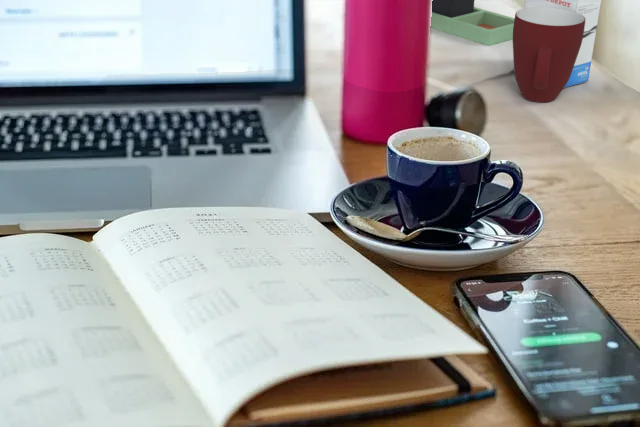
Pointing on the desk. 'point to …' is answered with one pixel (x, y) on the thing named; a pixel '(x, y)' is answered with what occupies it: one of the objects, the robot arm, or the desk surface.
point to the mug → (545, 50)
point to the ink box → (587, 5)
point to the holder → (476, 26)
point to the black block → (452, 7)
